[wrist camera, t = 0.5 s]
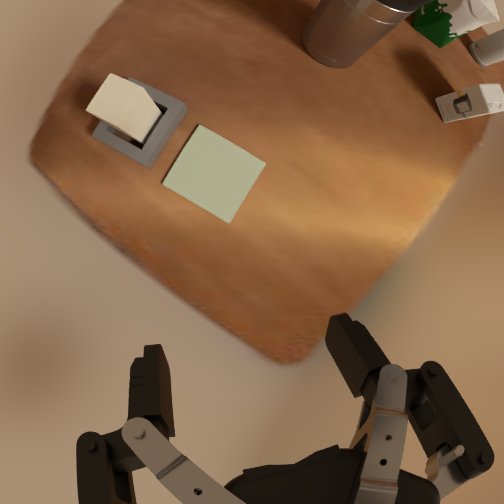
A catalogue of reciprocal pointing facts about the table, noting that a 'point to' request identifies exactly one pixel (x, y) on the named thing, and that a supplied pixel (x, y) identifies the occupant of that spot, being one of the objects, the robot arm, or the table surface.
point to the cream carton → (126, 108)
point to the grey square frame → (159, 135)
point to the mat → (214, 173)
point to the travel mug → (488, 49)
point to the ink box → (471, 102)
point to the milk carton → (453, 18)
